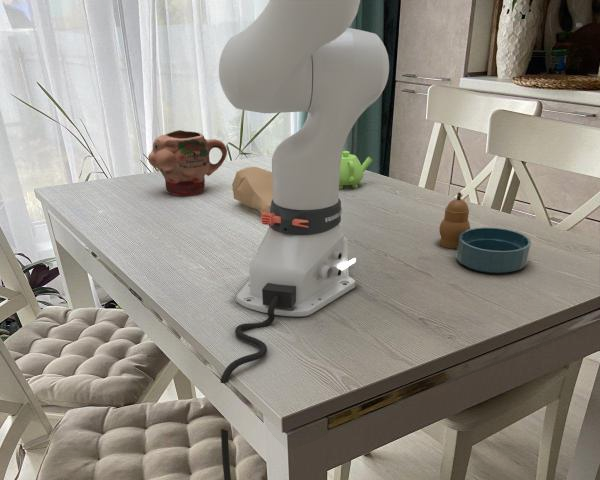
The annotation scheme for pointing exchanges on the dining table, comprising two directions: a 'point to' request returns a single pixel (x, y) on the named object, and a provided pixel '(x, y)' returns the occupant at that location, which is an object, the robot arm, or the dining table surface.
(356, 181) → the teapot
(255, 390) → the dining table surface
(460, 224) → the pear
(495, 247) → the bowl
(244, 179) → the squash
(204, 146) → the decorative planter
